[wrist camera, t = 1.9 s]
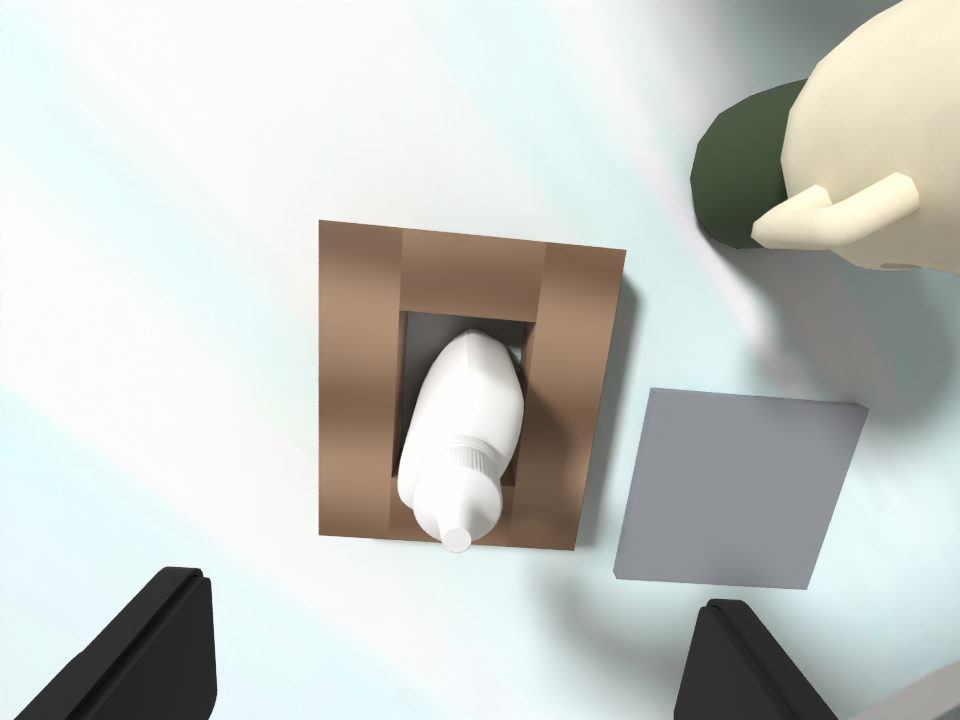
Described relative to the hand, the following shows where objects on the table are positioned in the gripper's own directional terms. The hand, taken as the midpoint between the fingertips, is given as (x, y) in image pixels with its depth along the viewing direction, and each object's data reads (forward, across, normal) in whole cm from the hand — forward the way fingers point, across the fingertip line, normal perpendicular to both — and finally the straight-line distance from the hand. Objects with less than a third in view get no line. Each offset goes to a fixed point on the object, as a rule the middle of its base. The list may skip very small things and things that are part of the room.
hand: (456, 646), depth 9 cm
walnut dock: (+14, 0, -1) cm, 14 cm away
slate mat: (+14, -15, +4) cm, 21 cm away
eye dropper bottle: (+14, 0, -1) cm, 15 cm away
